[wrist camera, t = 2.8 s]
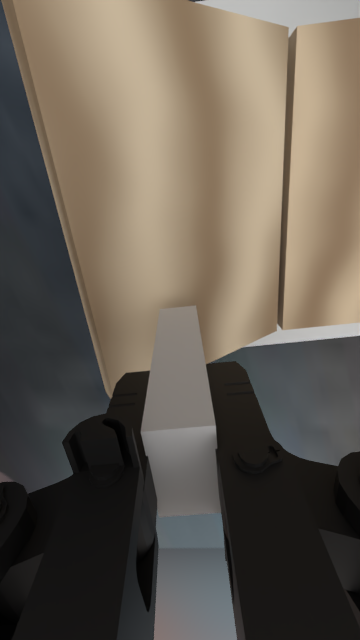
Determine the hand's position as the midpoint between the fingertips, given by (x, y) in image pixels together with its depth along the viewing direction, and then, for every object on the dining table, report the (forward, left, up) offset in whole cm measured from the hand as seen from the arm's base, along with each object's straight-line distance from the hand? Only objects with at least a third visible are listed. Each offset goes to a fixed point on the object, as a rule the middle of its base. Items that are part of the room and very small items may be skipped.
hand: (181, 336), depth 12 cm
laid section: (+12, +4, -9) cm, 16 cm away
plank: (+1, +4, -5) cm, 7 cm away
